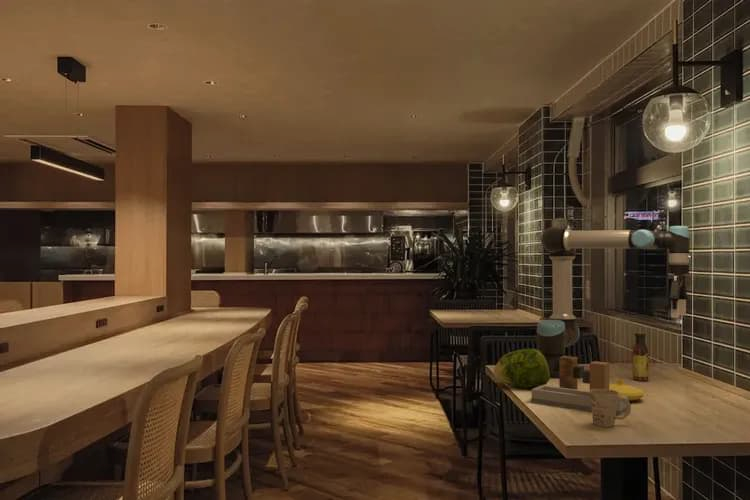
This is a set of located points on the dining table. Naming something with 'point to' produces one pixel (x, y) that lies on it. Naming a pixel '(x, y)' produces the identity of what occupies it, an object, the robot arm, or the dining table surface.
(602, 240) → the robot arm
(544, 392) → the brown blocky pieces
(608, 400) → the mug
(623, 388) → the yellow curved piece
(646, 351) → the sauce bottle
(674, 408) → the dining table surface
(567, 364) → the brown tall block
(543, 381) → the lettuce
